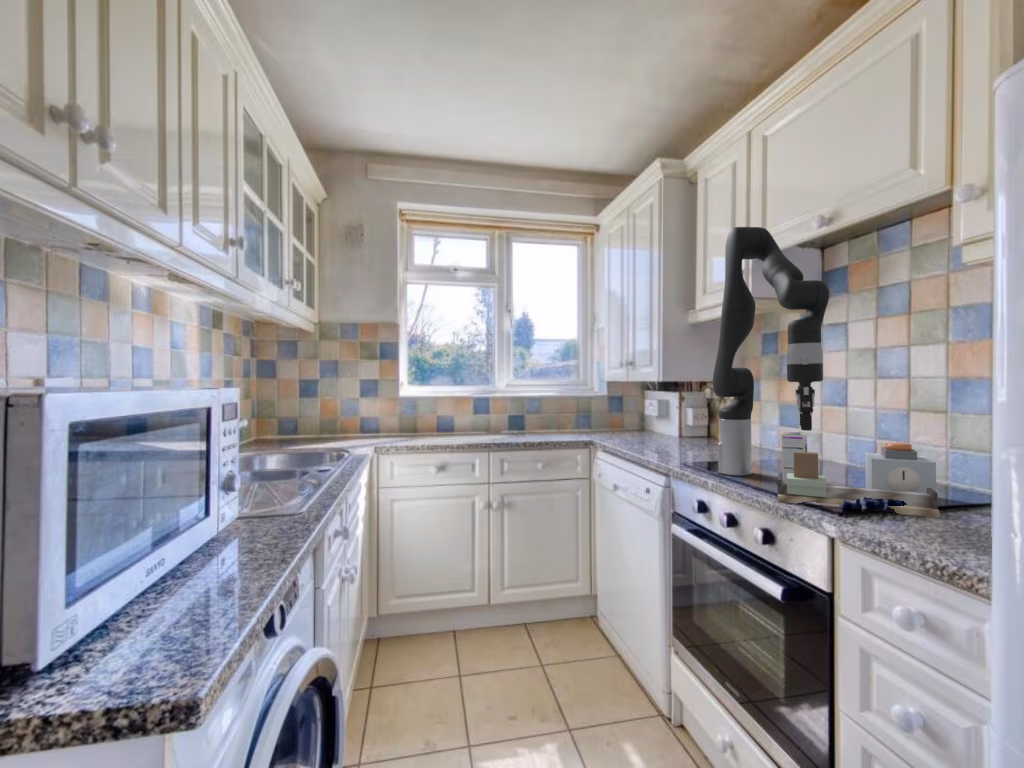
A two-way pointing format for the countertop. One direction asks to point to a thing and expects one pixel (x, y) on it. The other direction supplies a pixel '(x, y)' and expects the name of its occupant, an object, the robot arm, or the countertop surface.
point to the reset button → (899, 446)
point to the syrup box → (791, 450)
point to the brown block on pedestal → (806, 476)
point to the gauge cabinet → (900, 471)
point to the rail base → (839, 501)
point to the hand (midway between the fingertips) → (805, 428)
